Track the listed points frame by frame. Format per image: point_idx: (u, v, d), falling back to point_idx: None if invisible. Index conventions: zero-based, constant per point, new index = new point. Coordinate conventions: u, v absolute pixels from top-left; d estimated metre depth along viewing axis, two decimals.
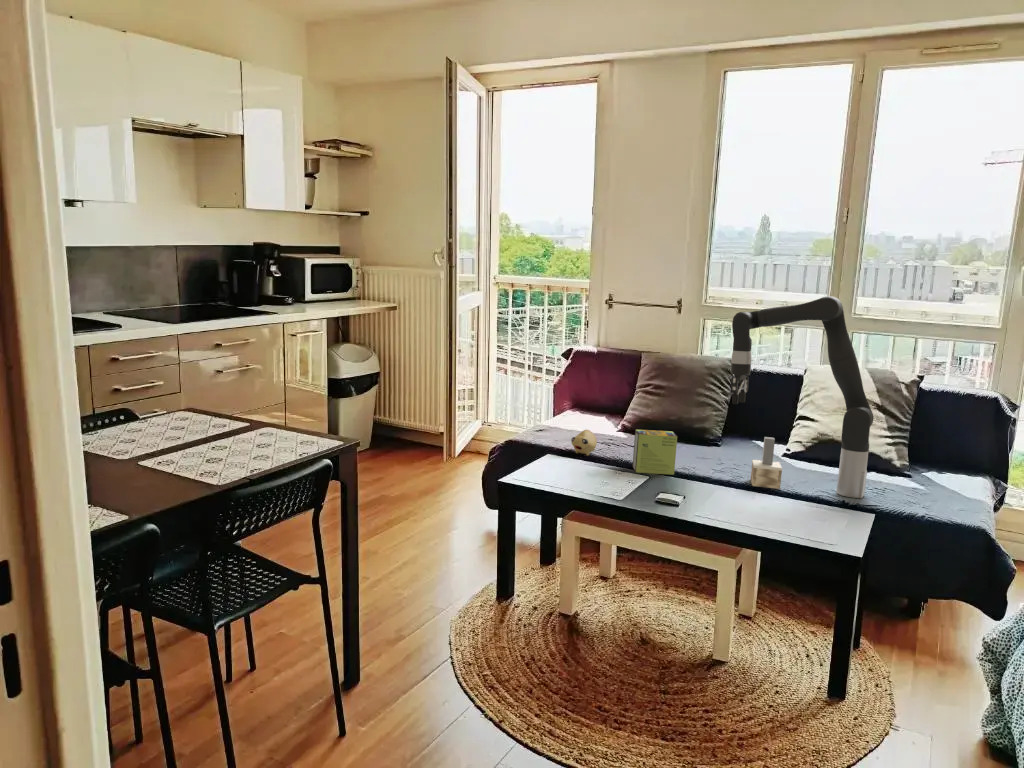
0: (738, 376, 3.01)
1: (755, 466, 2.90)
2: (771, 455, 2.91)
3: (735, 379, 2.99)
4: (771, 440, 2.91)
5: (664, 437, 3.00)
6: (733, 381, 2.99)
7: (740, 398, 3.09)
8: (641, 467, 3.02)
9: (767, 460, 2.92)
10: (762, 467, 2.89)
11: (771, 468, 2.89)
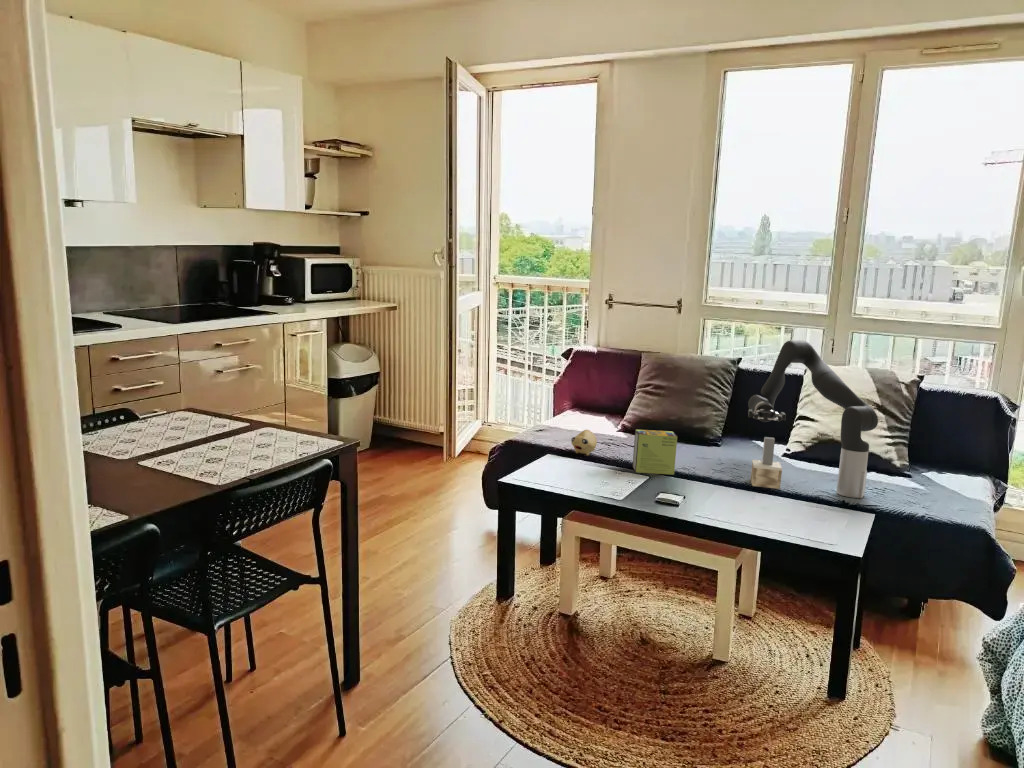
0: (756, 411, 3.13)
1: (755, 466, 2.90)
2: (771, 455, 2.91)
3: None
4: (771, 440, 2.91)
5: (664, 437, 3.00)
6: (748, 413, 3.12)
7: (778, 419, 3.03)
8: (641, 467, 3.02)
9: (767, 460, 2.92)
10: (762, 467, 2.89)
11: (771, 468, 2.89)
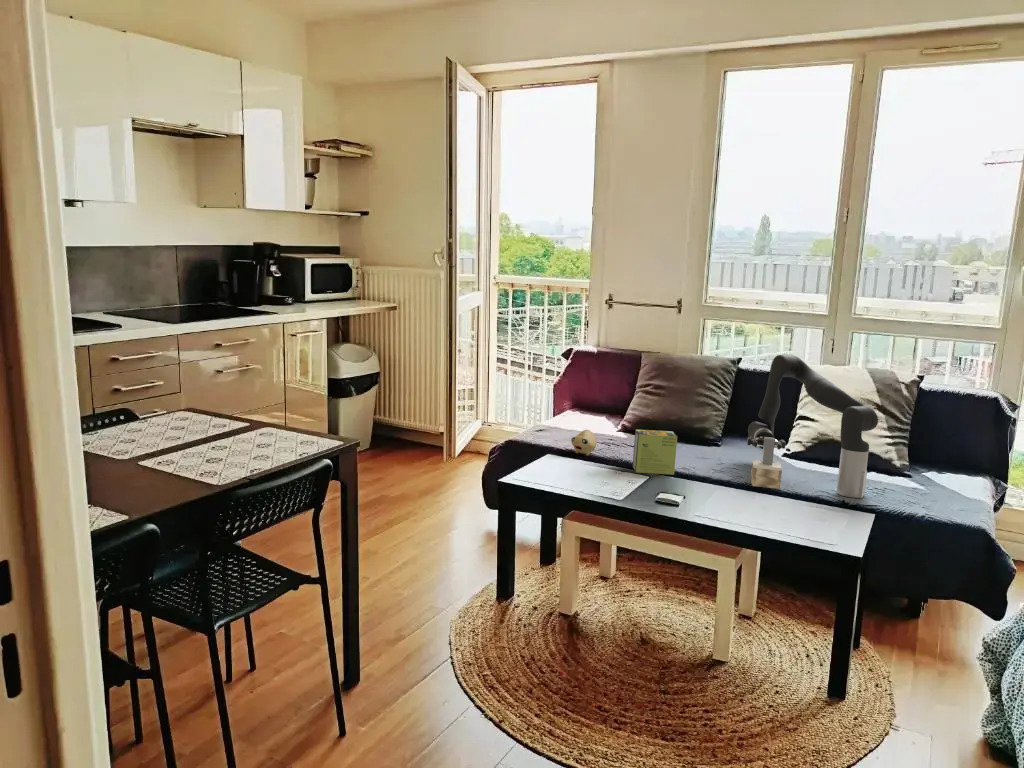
0: (755, 438, 3.09)
1: (755, 466, 2.90)
2: (771, 455, 2.91)
3: None
4: (771, 440, 2.91)
5: (664, 437, 3.00)
6: None
7: (777, 447, 2.99)
8: (641, 467, 3.02)
9: (767, 460, 2.92)
10: (762, 467, 2.89)
11: (771, 468, 2.89)
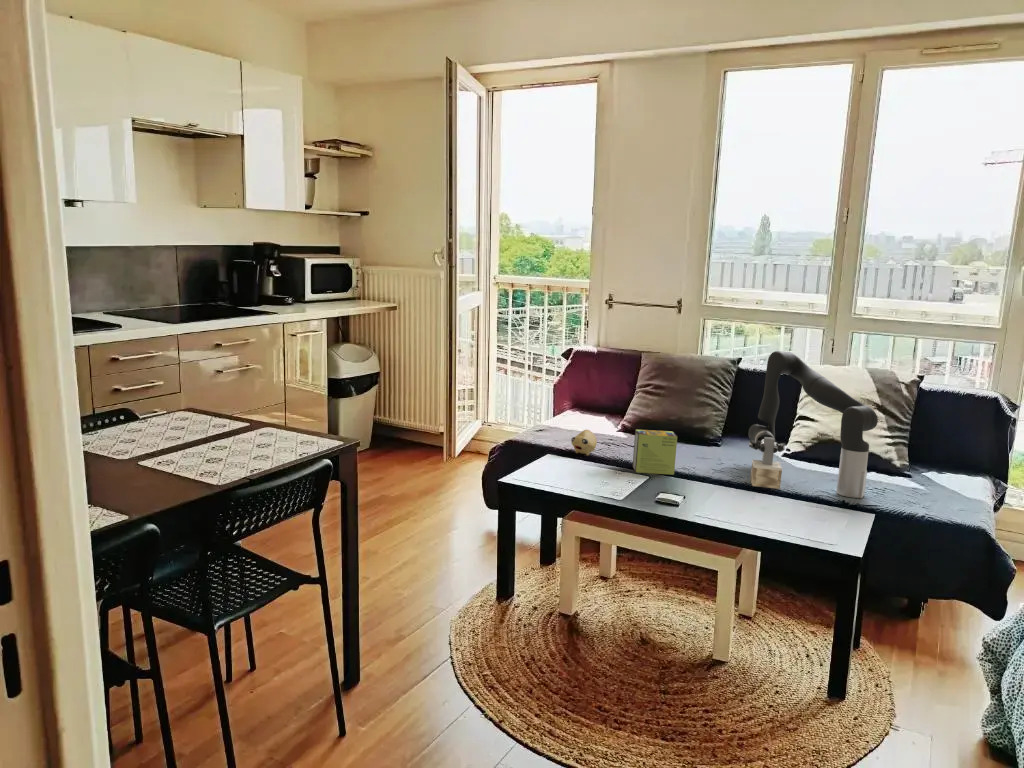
0: (756, 441, 3.02)
1: (755, 466, 2.90)
2: (771, 455, 2.91)
3: (749, 442, 3.01)
4: (771, 440, 2.91)
5: (664, 437, 3.00)
6: (750, 444, 3.00)
7: (773, 451, 2.91)
8: (641, 467, 3.02)
9: (767, 460, 2.92)
10: (762, 467, 2.89)
11: (771, 468, 2.89)
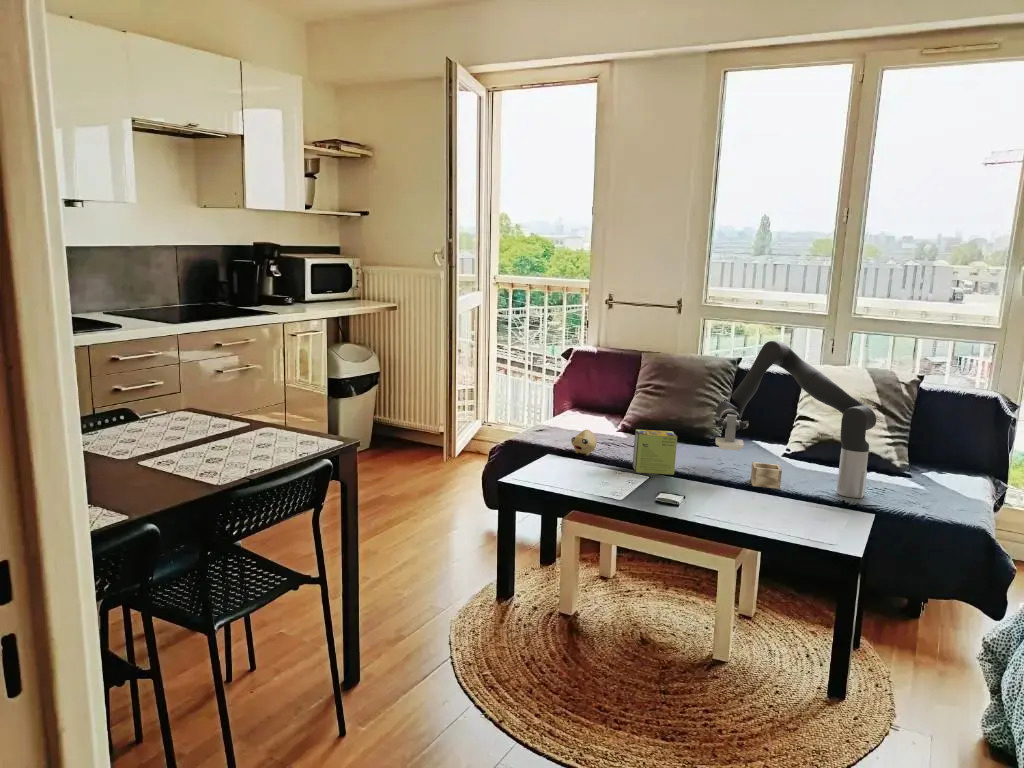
0: None
1: (717, 443, 2.88)
2: (733, 432, 2.90)
3: (713, 419, 2.99)
4: (733, 417, 2.89)
5: (664, 437, 3.00)
6: (713, 422, 2.98)
7: None
8: (641, 467, 3.02)
9: (729, 438, 2.90)
10: (724, 444, 2.88)
11: (733, 445, 2.87)
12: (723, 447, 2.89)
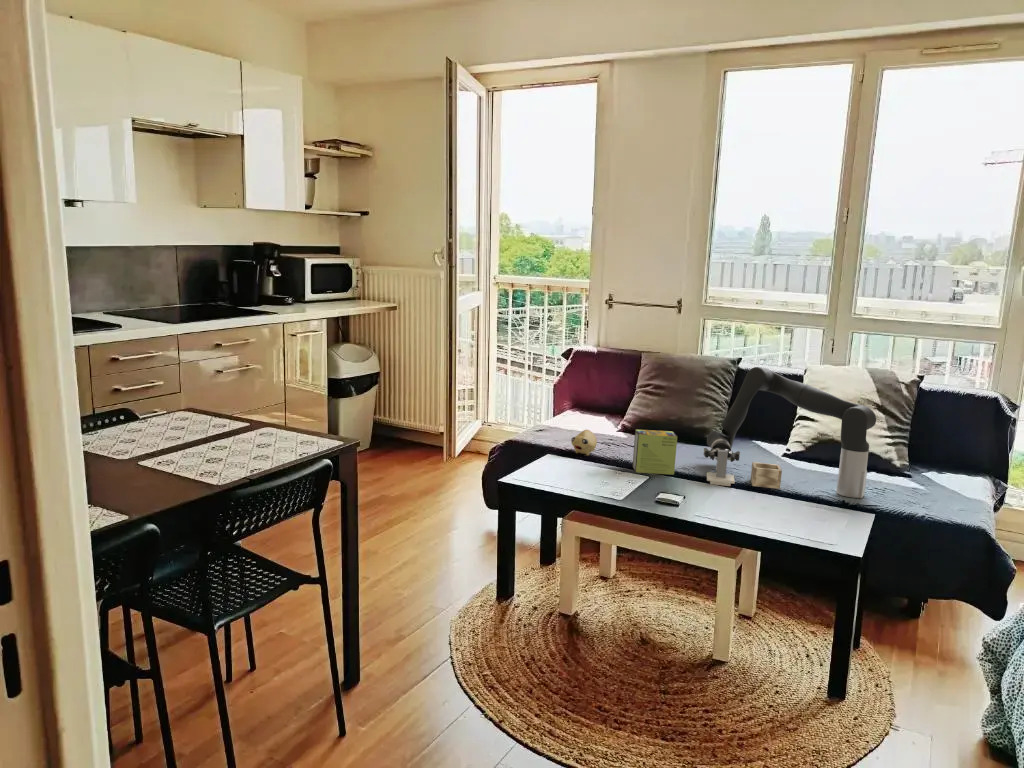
0: None
1: (708, 479, 2.89)
2: (724, 468, 2.91)
3: None
4: (724, 453, 2.90)
5: (664, 437, 3.00)
6: (704, 452, 3.00)
7: (730, 459, 2.90)
8: (641, 467, 3.02)
9: (720, 473, 2.91)
10: (715, 480, 2.89)
11: (724, 481, 2.88)
12: (714, 483, 2.90)
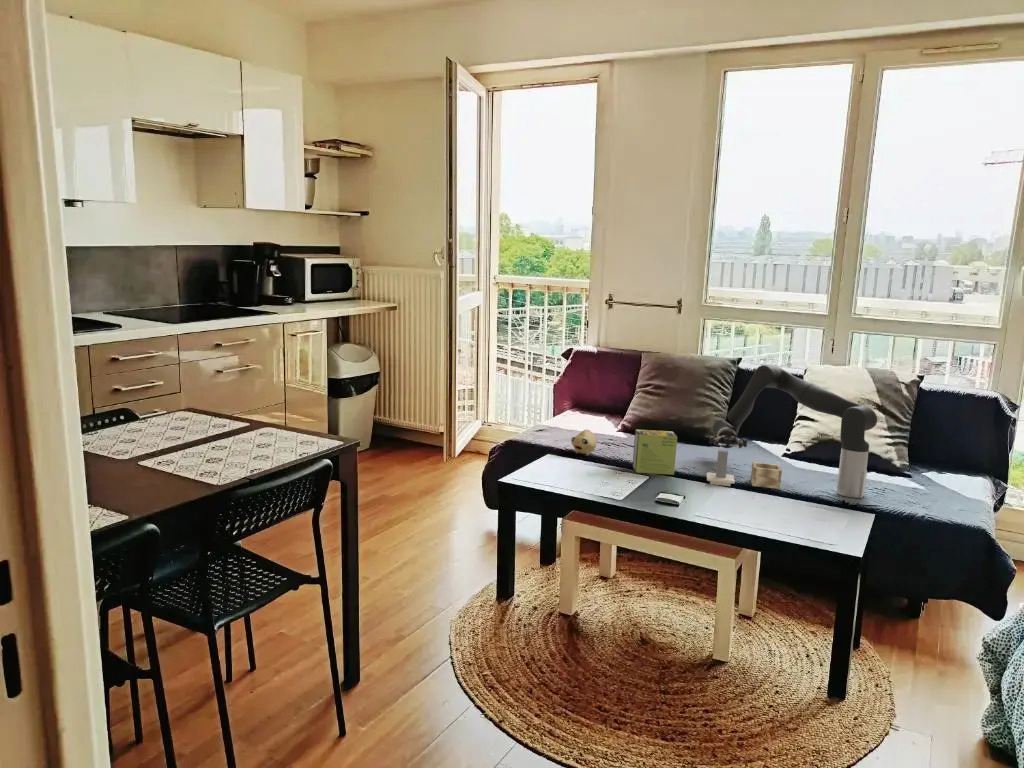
0: (718, 437, 3.10)
1: (708, 479, 2.89)
2: (724, 468, 2.91)
3: None
4: (724, 452, 2.90)
5: (664, 437, 3.00)
6: None
7: None
8: (641, 467, 3.02)
9: (720, 473, 2.91)
10: (715, 480, 2.89)
11: (724, 481, 2.88)
12: (714, 483, 2.90)
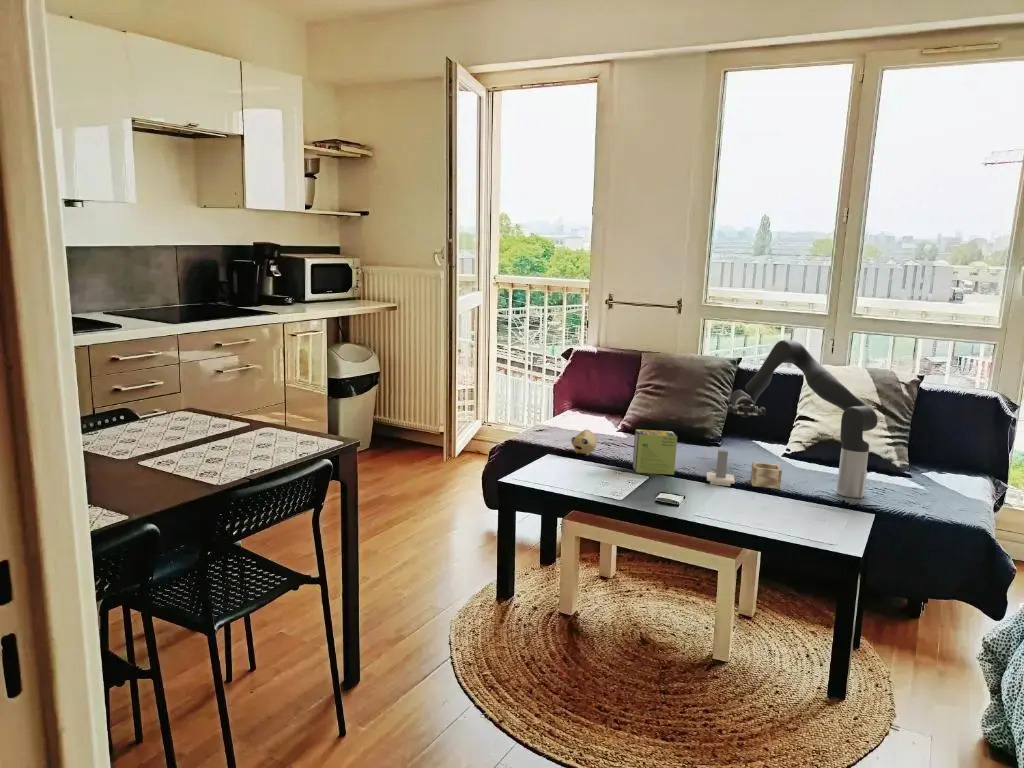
0: None
1: (708, 479, 2.89)
2: (724, 468, 2.91)
3: None
4: (724, 452, 2.90)
5: (664, 437, 3.00)
6: None
7: (757, 414, 3.01)
8: (641, 467, 3.02)
9: (720, 473, 2.91)
10: (715, 480, 2.89)
11: (724, 481, 2.88)
12: (714, 483, 2.90)
